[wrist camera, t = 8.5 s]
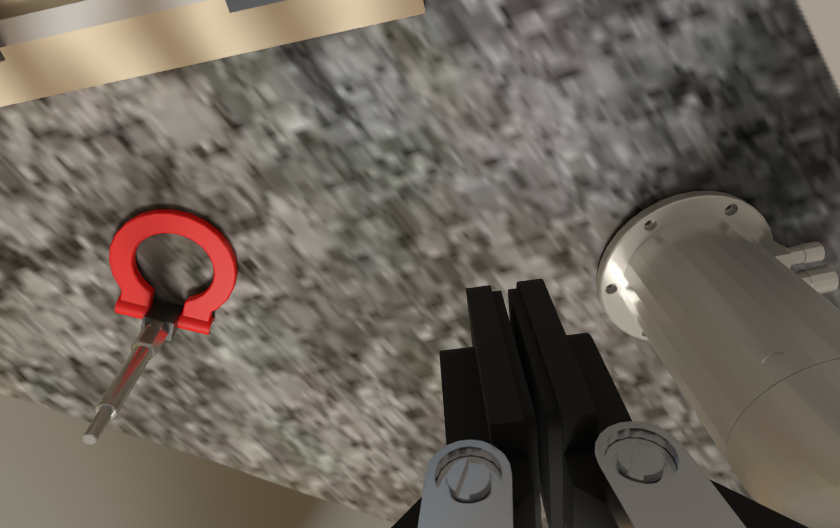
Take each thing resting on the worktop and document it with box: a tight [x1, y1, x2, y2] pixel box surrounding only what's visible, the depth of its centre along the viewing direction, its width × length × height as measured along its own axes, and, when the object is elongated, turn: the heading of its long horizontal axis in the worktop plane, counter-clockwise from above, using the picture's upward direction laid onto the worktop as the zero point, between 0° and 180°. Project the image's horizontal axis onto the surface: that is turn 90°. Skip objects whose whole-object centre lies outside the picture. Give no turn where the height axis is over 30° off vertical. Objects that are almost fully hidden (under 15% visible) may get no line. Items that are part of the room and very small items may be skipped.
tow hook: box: [82, 209, 238, 444], centre depth 33 cm, size 8×13×9 cm
